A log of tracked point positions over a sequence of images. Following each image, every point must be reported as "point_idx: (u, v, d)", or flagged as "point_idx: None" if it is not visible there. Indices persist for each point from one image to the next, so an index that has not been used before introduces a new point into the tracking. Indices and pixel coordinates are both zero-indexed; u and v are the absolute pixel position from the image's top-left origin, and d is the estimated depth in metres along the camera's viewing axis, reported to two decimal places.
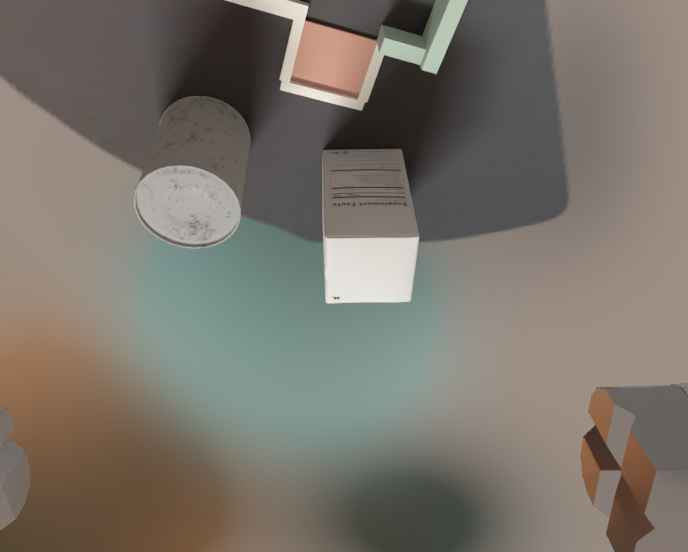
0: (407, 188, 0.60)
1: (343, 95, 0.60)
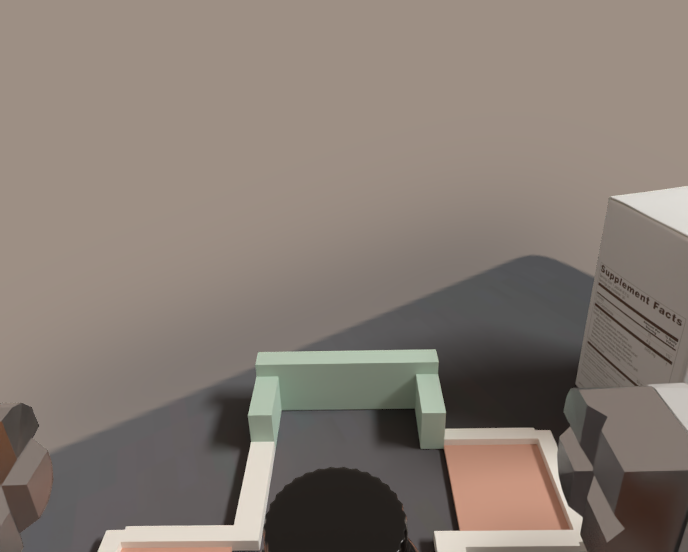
0: (591, 299, 0.41)
1: (544, 458, 0.37)
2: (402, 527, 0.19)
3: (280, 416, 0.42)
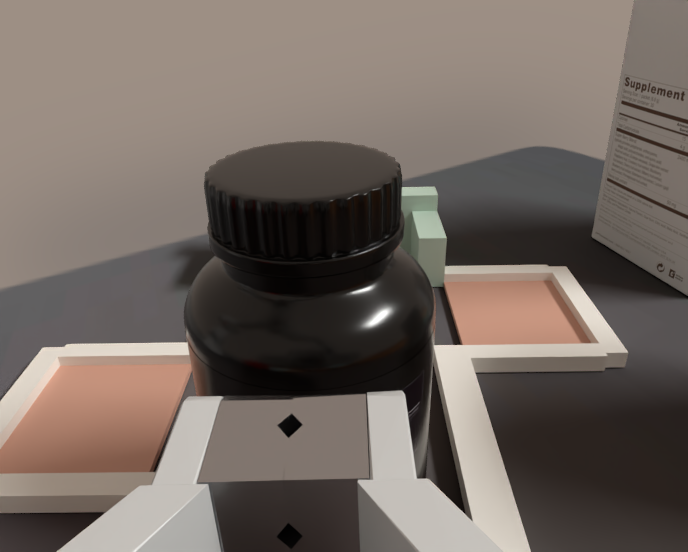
0: (612, 126, 0.36)
1: (560, 289, 0.32)
2: (394, 169, 0.14)
3: None
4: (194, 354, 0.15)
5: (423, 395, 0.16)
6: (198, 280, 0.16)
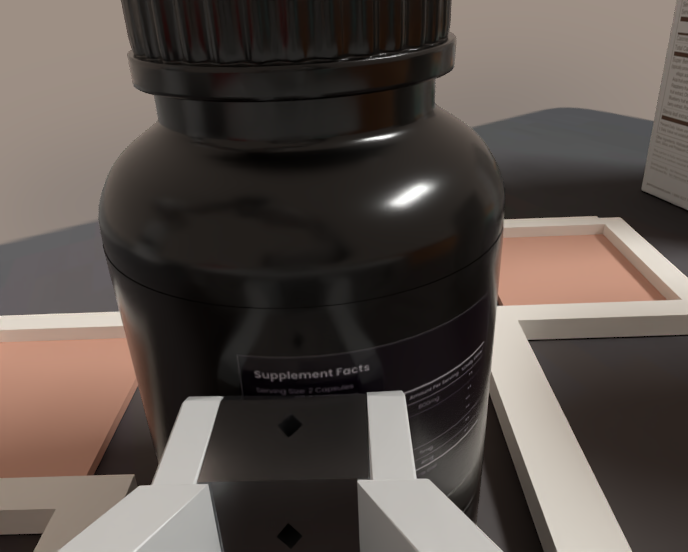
0: (669, 50, 0.30)
1: (617, 242, 0.26)
2: None
3: None
4: (111, 265, 0.09)
5: (488, 332, 0.10)
6: (121, 153, 0.10)
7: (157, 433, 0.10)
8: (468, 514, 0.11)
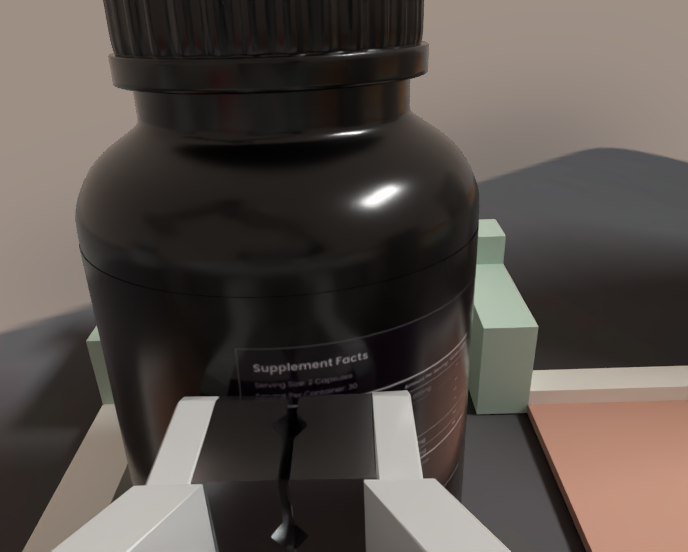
0: None
1: None
2: None
3: None
4: (94, 269, 0.09)
5: (470, 324, 0.10)
6: (98, 159, 0.09)
7: (139, 449, 0.10)
8: None
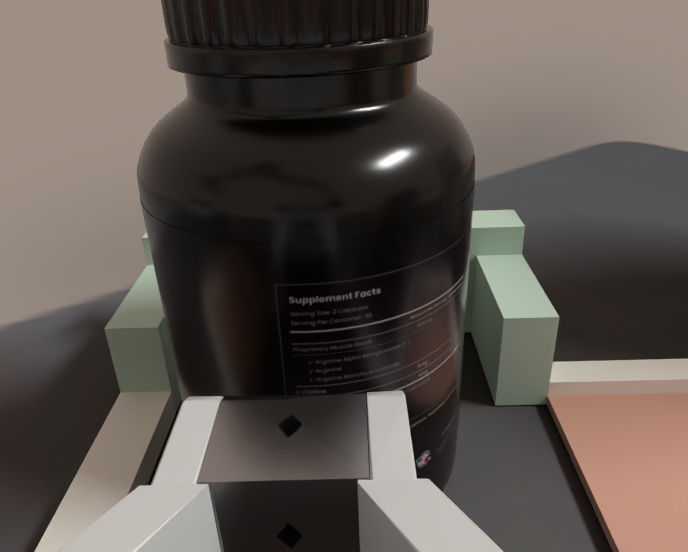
0: None
1: None
2: None
3: None
4: (157, 221, 0.11)
5: (466, 268, 0.12)
6: (154, 129, 0.11)
7: (192, 369, 0.12)
8: (452, 429, 0.14)
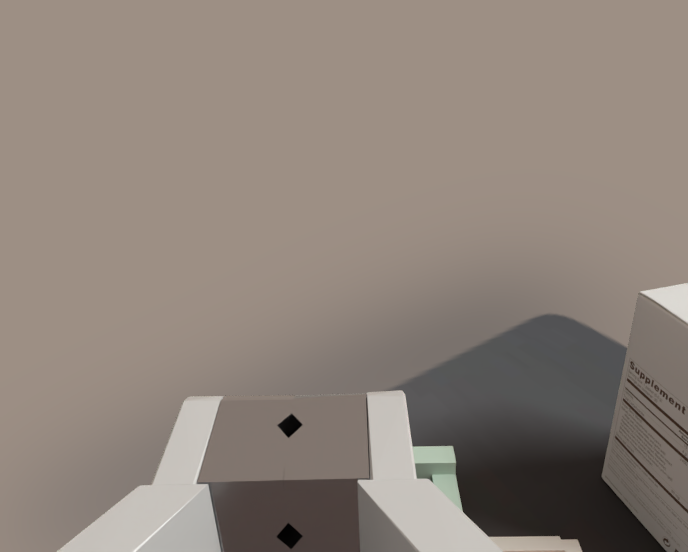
0: (619, 394, 0.38)
1: None
2: None
3: None
4: None
5: None
6: None
7: None
8: None
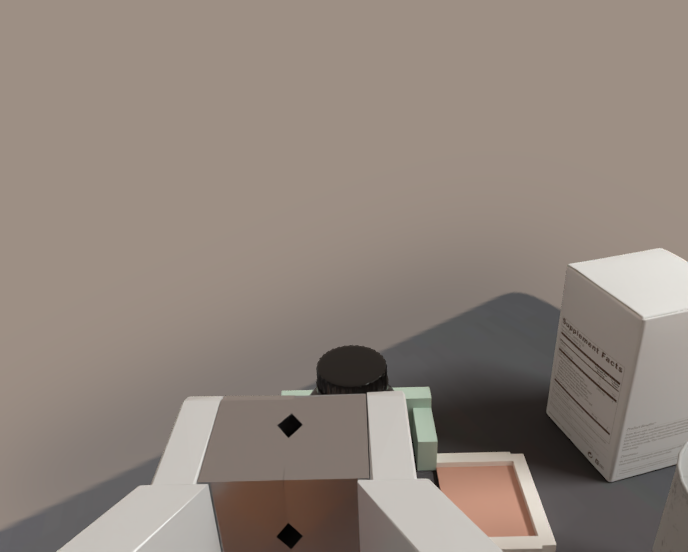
0: (556, 345, 0.50)
1: (517, 477, 0.46)
2: (384, 364, 0.40)
3: None
4: None
5: None
6: None
7: None
8: None
